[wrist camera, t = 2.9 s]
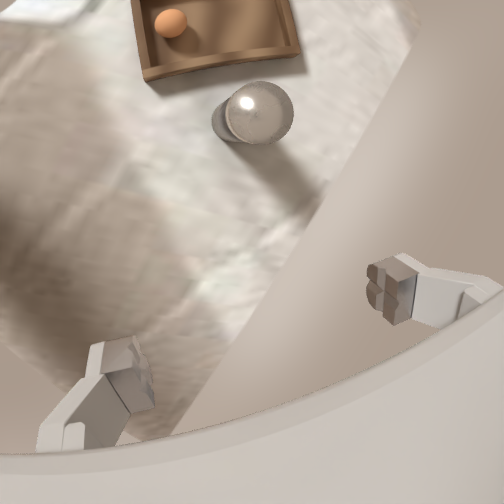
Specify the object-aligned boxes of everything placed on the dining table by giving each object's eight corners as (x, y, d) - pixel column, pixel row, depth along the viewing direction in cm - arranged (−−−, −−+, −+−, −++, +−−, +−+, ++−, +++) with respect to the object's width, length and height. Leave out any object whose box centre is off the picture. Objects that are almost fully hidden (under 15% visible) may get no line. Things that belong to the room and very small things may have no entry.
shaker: (215, 146, 36) (236, 150, 24) (206, 104, 34) (223, 86, 22) (258, 137, 37) (298, 138, 25) (250, 96, 35) (287, 77, 23)
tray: (145, 82, 31) (143, 78, 29) (131, -2, 27) (129, -10, 24) (293, 57, 34) (300, 53, 32) (274, -21, 29) (280, -29, 27)
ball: (157, 44, 29) (156, 35, 26) (153, 19, 28) (151, 8, 25) (188, 38, 30) (190, 28, 27) (183, 13, 29) (185, 1, 25)
